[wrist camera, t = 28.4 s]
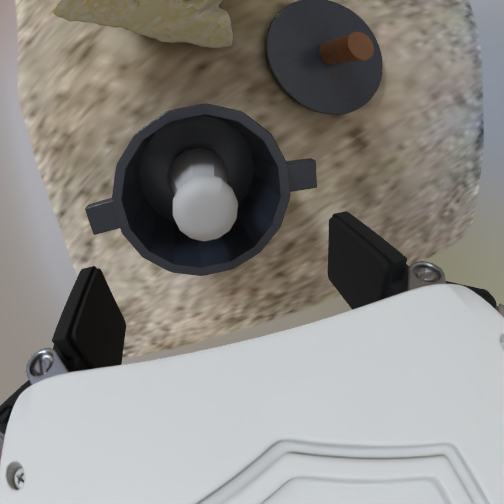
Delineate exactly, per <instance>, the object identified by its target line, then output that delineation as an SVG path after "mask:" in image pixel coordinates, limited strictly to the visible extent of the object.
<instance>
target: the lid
mask: <svg viewBox="0 0 504 504" xmlns="http://www.w3.org/2000/svg"><path fill="white" fill-rule="evenodd" d="M265 47H266V56H267V61H268V64H269V67H270V70H271V72H272V74H273V76H274V78H275V79H276V81H277V82H278V84H279V85H280V86H281V88H282V89H283V90H284V91H285V92H286V93H287V94H288V95H289V96H290V97H291V98H292V99H294V100H295V101H296V102H298V103H299V104H301V105H303V106H304V107H306V108H309V109H311V110H314V111H317V112H320V113H326V114H345V113H349V112H352V111H355V110H357V109H359V108H360V107H362V106H364V105H365V104H366V103H367V102H368V101H369V100H370V99H371V98H372V97H373V95H374V94H375V92H376V91H377V89H378V87H379V84H380V81H381V76H382V56H381V51H380V48H379V45H378V43H377V40H376V38H375V36H374V35H373V33H372V31H371V30H370V28H369V27H368V26H367V24H366V23H365V22H364V21H363V20H362V19H361V18H360V17H359V16H358V15H356V14H355V13H354V12H352V11H351V10H349V9H348V8H346V7H344V6H342V5H340V4H338V3H335V2H332V1H328V0H301V1H298V2H295V3H292V4H290V5H289V6H287V7H285V8H284V9H283V10H282V11H280V12H279V13H278V14H277V15H276V17H275V18H274V19H273V21H272V22H271V24H270V26H269V29H268V32H267V36H266V44H265Z"/></svg>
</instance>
